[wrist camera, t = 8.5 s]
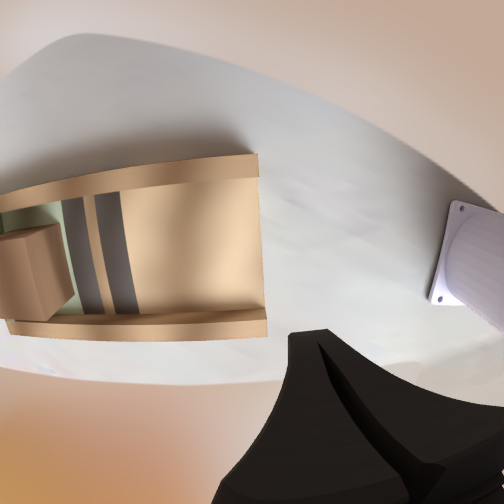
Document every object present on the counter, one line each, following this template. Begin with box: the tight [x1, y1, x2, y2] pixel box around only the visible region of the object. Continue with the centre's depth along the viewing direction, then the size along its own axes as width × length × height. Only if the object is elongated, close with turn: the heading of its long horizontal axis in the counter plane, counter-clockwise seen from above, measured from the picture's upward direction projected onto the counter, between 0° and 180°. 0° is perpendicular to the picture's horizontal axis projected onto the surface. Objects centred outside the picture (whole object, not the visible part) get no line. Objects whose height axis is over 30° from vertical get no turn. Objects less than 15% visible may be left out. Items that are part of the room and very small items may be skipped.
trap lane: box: [0, 154, 268, 342], centre depth 18 cm, size 20×10×2 cm, turn 94°
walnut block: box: [0, 223, 75, 321], centre depth 16 cm, size 5×5×4 cm
